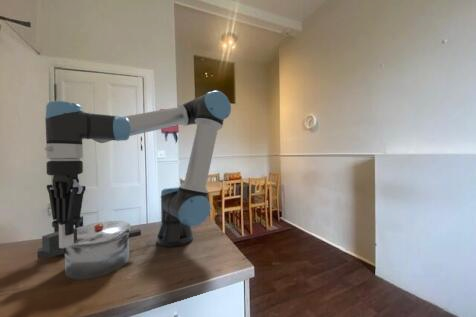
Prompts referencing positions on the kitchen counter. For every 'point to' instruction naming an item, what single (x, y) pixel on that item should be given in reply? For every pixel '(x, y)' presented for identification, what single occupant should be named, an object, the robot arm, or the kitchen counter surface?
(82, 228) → the lid
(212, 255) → the kitchen counter surface
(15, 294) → the kitchen counter surface
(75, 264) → the pressure cooker pot
